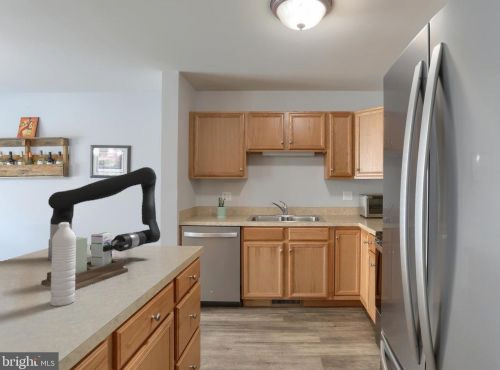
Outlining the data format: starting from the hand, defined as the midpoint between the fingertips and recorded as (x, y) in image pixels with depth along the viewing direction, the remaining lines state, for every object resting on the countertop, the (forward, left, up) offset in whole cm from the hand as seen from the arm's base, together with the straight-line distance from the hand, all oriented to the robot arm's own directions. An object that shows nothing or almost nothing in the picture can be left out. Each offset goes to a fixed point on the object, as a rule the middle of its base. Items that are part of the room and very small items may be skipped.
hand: (97, 248), depth 125 cm
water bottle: (+15, -27, -11) cm, 33 cm away
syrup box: (0, +2, -9) cm, 9 cm away
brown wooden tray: (0, -4, -11) cm, 12 cm away
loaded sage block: (0, -11, -9) cm, 14 cm away
